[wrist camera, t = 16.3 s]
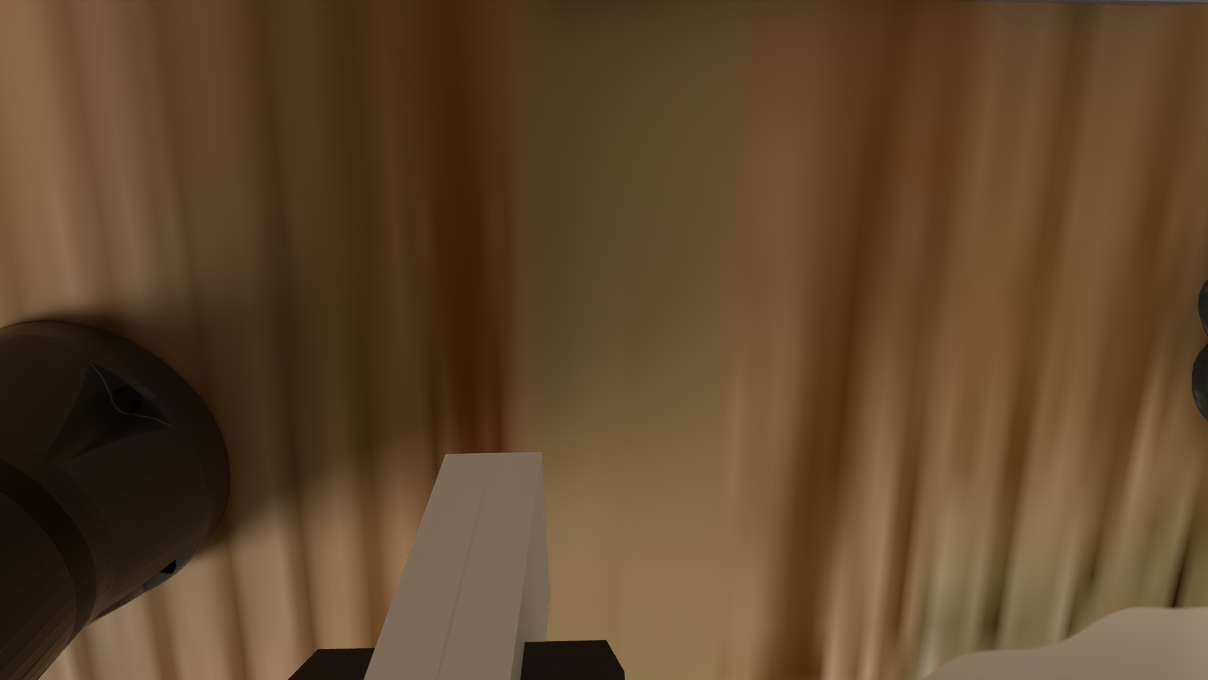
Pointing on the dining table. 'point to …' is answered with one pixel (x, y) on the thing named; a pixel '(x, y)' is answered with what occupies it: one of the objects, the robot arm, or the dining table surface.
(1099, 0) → the console
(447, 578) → the robot arm
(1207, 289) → the squash
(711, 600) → the dining table surface
